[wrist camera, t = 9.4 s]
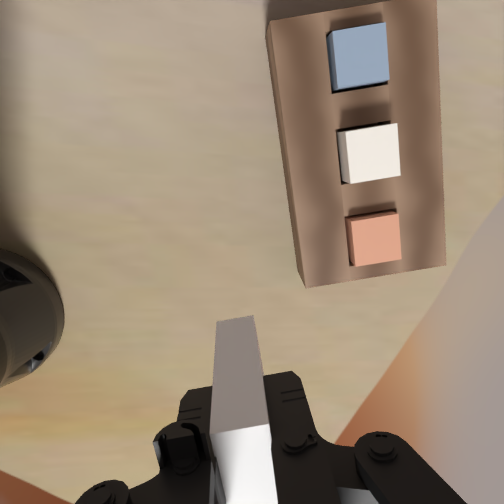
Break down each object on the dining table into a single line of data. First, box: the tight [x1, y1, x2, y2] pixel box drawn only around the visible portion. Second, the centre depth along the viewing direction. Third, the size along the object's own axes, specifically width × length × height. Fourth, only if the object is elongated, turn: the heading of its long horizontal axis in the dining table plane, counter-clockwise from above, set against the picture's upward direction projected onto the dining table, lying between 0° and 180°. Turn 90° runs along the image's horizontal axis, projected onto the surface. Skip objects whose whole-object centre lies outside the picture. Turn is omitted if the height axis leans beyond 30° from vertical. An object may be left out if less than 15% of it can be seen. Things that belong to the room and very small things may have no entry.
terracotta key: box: [344, 209, 402, 267], centre depth 40 cm, size 4×4×3 cm
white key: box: [337, 123, 401, 184], centre depth 37 cm, size 4×4×3 cm
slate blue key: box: [326, 22, 390, 92], centre depth 36 cm, size 4×4×3 cm
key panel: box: [265, 0, 446, 288], centre depth 40 cm, size 14×24×6 cm, turn 9°
